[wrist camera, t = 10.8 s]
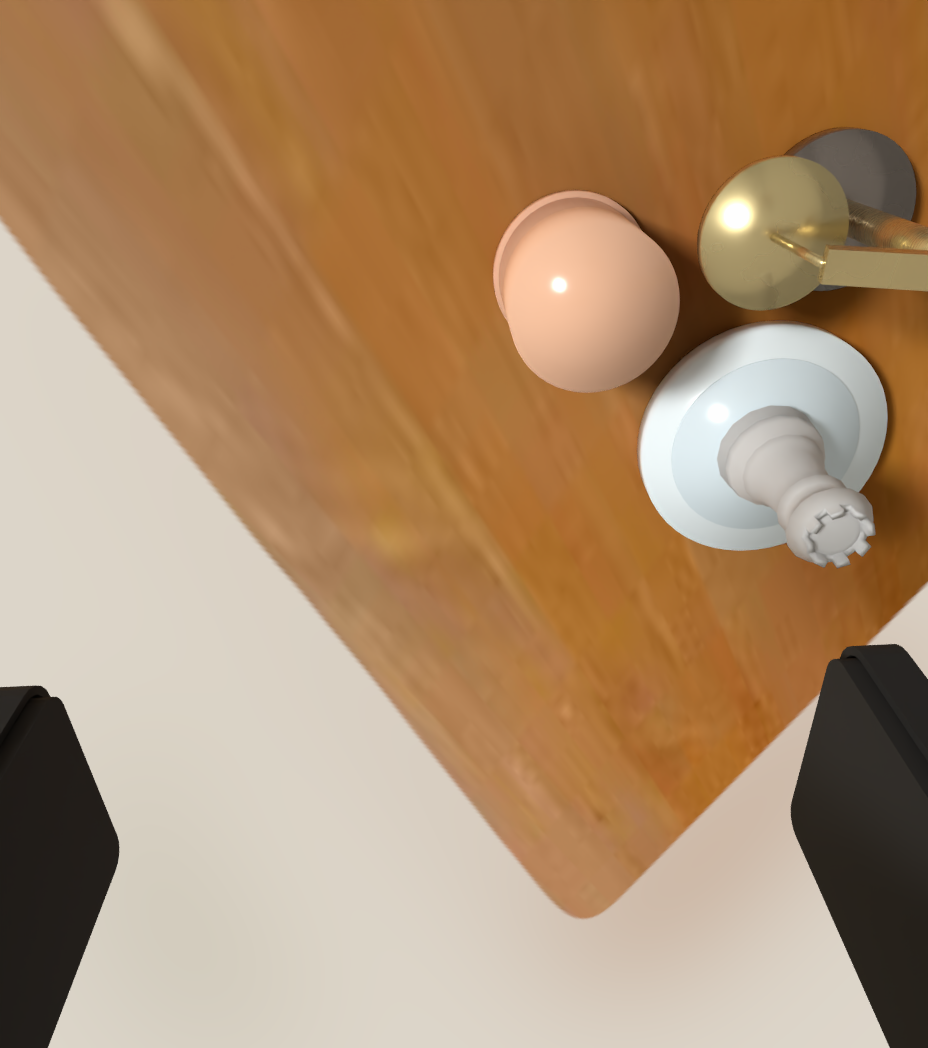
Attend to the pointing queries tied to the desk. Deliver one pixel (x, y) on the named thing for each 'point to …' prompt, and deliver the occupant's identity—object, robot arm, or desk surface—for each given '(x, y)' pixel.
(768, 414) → the rook chess piece
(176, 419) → the desk surface
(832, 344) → the dish
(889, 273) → the balance
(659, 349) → the peach dome knob
